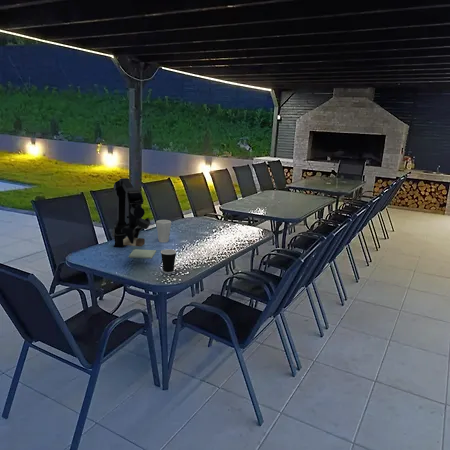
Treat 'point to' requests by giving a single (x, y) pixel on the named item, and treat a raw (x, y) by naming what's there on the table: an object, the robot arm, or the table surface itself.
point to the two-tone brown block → (134, 242)
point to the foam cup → (163, 230)
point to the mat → (142, 254)
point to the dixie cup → (168, 260)
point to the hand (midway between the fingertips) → (134, 242)
